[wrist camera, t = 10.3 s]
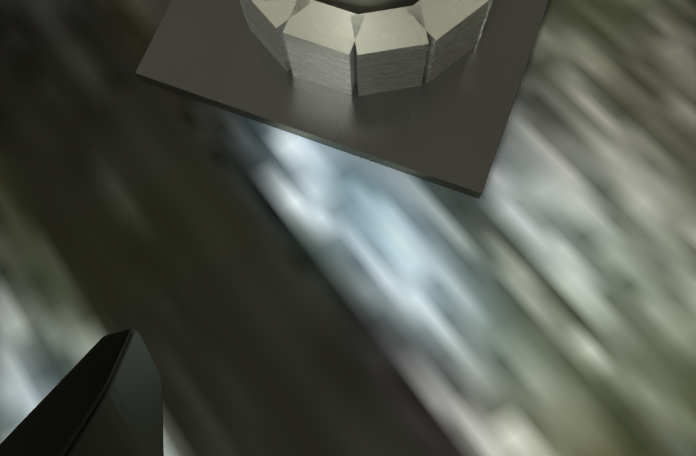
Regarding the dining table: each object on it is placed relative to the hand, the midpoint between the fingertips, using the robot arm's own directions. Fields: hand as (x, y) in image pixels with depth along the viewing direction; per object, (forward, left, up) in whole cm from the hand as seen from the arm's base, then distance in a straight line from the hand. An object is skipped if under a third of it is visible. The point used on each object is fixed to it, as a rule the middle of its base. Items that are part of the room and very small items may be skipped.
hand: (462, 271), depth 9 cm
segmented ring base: (+13, +6, -14) cm, 20 cm away
